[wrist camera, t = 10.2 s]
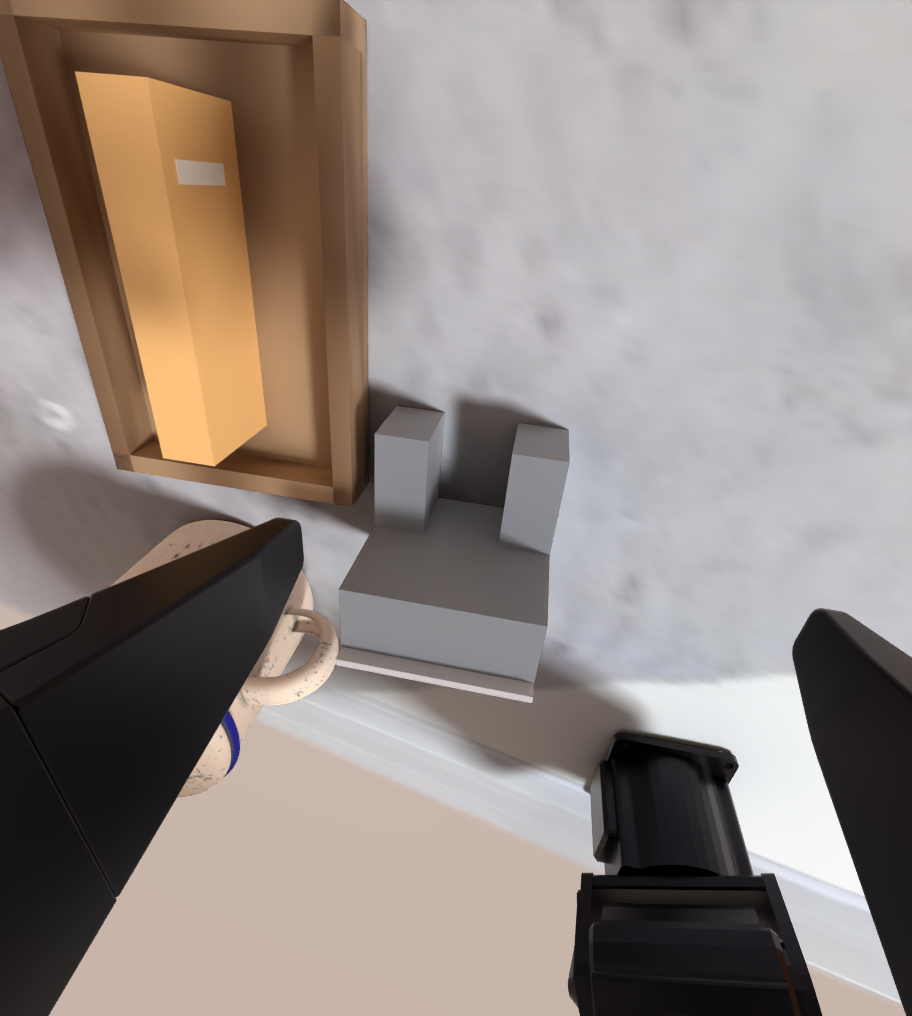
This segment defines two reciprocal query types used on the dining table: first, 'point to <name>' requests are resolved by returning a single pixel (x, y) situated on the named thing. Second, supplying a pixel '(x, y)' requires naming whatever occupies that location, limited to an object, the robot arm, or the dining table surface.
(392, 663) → the grey slotted holder
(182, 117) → the tan elongated block
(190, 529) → the teacup with lid
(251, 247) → the tray
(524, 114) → the dining table surface
